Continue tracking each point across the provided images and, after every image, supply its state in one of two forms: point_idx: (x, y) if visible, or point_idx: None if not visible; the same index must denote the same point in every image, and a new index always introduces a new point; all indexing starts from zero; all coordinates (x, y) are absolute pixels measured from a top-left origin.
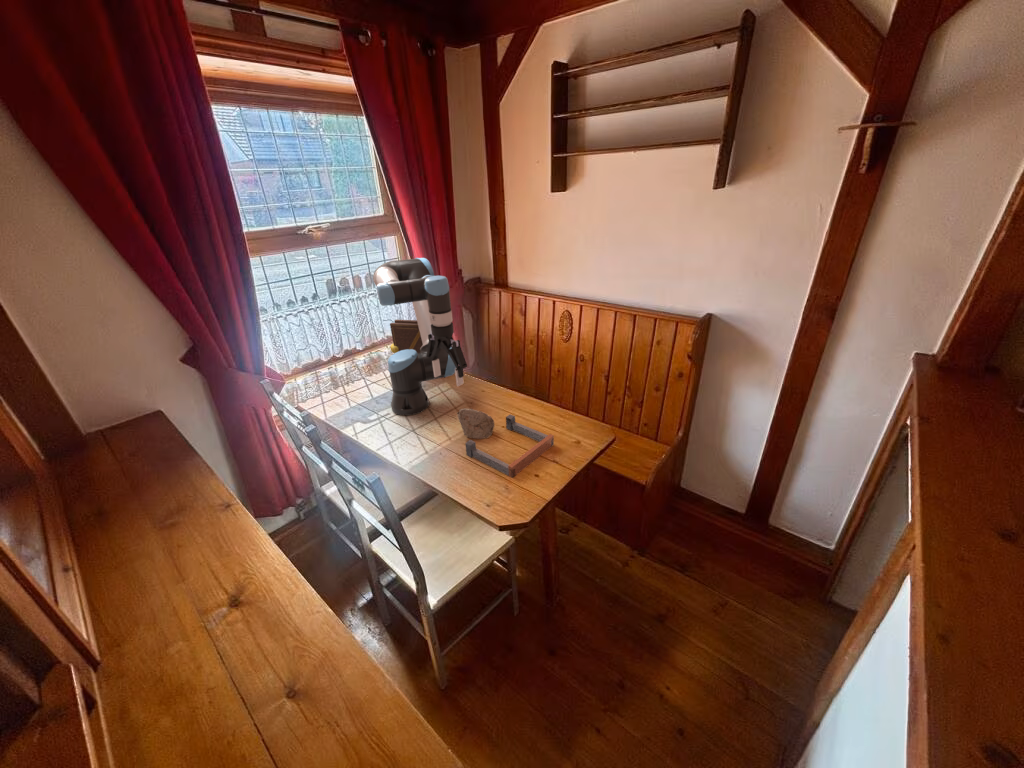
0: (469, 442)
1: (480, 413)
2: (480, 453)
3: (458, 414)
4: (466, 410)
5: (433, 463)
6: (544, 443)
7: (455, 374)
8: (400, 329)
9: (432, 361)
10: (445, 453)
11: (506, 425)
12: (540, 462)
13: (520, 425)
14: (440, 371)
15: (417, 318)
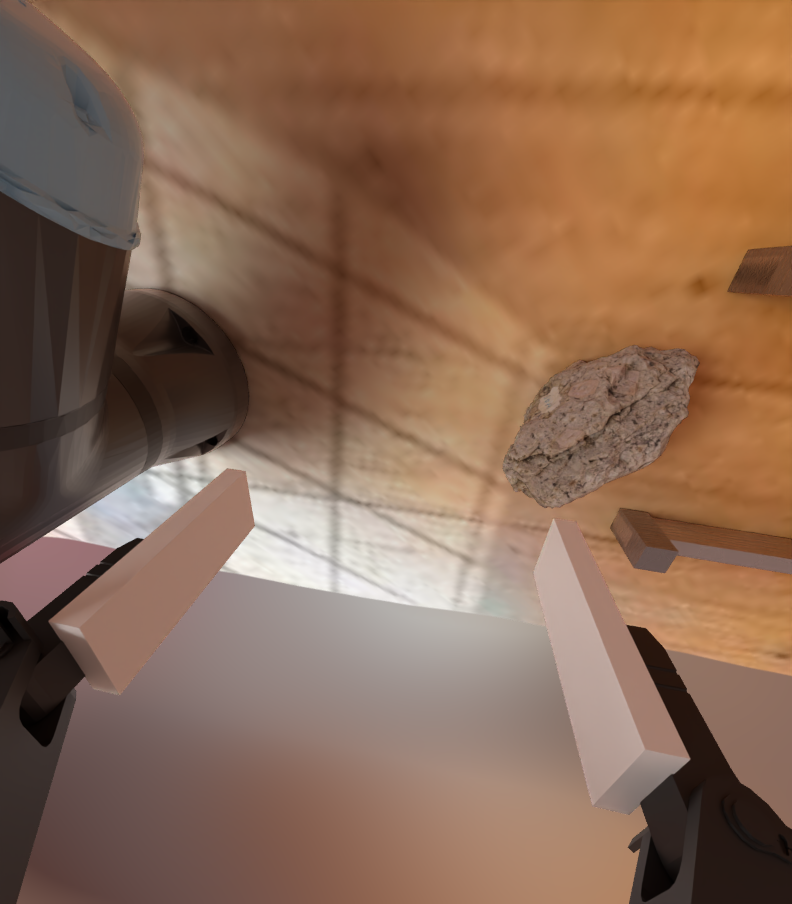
0: (651, 561)
1: (665, 444)
2: (703, 557)
3: (530, 495)
4: (586, 493)
5: (523, 587)
6: None
7: (567, 704)
8: None
9: (106, 687)
10: (529, 544)
11: (744, 292)
12: None
13: None
14: (223, 495)
15: None
